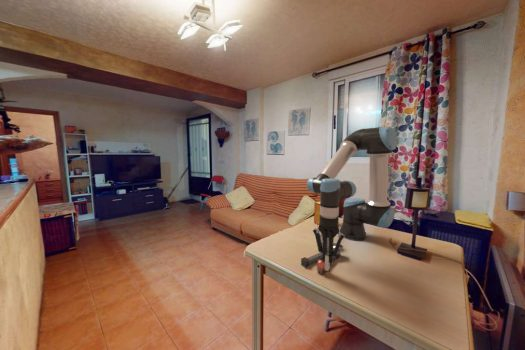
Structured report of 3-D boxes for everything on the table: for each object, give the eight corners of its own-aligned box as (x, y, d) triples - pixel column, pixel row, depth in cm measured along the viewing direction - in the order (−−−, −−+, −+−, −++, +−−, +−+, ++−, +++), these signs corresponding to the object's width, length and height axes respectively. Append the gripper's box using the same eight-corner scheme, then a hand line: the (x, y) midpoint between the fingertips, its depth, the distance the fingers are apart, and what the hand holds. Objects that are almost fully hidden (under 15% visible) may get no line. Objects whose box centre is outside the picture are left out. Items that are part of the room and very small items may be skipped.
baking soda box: (323, 221, 148) (324, 200, 146) (330, 224, 142) (331, 202, 140) (314, 223, 144) (314, 202, 142) (320, 226, 138) (321, 204, 136)
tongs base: (332, 251, 104) (332, 244, 103) (342, 256, 99) (342, 248, 98) (301, 265, 91) (301, 256, 91) (310, 271, 86) (311, 263, 86)
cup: (336, 246, 109) (336, 231, 108) (322, 250, 104) (322, 234, 103) (326, 241, 115) (327, 226, 114) (313, 244, 111) (313, 229, 110)
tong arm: (332, 251, 103) (333, 242, 102) (343, 254, 99) (344, 245, 99) (313, 271, 86) (313, 260, 85) (325, 276, 82) (326, 264, 82)
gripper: (347, 215, 82) (344, 269, 85) (316, 211, 89) (315, 260, 92) (343, 221, 76) (341, 278, 78) (310, 215, 83) (309, 268, 85)
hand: (327, 268), depth 85 cm, fingers closed
